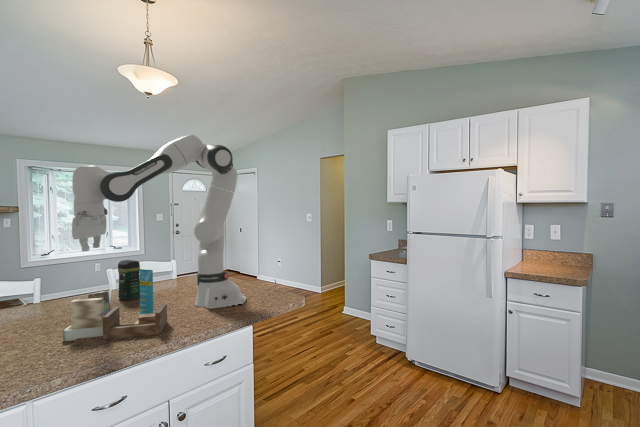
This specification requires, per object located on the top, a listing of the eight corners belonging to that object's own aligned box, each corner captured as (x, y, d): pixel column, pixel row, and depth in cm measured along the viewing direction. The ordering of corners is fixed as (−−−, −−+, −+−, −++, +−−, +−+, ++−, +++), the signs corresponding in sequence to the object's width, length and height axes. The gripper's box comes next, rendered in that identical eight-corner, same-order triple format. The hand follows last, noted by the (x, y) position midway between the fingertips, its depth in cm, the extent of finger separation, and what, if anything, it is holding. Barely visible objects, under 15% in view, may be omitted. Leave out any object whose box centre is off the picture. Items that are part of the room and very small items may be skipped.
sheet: (104, 331, 116) (103, 297, 116) (101, 334, 114) (100, 299, 113) (75, 334, 114) (74, 299, 114) (71, 336, 111) (70, 301, 111)
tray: (111, 330, 118) (111, 321, 118) (105, 337, 112) (104, 327, 112) (71, 334, 115) (71, 324, 115) (63, 341, 109) (62, 330, 109)
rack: (167, 324, 124) (166, 303, 124) (160, 335, 113) (160, 312, 113) (115, 328, 120) (114, 307, 120) (103, 341, 109) (102, 317, 109)
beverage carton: (86, 320, 130) (86, 303, 130) (88, 308, 146) (87, 293, 146) (110, 316, 134) (110, 300, 134) (109, 304, 150) (108, 290, 150)
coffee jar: (143, 297, 161) (142, 259, 160) (127, 301, 154) (126, 262, 153) (132, 295, 165) (131, 258, 165) (115, 299, 158) (114, 260, 158)
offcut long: (158, 324, 122) (158, 318, 122) (156, 328, 119) (155, 322, 119) (137, 326, 121) (137, 320, 121) (134, 330, 117) (134, 324, 117)
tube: (135, 317, 132) (133, 269, 132) (144, 313, 137) (143, 267, 136) (149, 319, 130) (148, 270, 129) (159, 315, 135) (158, 268, 134)
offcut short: (157, 318, 122) (157, 312, 122) (155, 322, 119) (155, 315, 119) (140, 320, 121) (140, 314, 121) (138, 323, 117) (138, 317, 117)
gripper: (87, 211, 109) (89, 252, 110) (109, 210, 129) (111, 245, 129) (64, 212, 107) (67, 254, 108) (90, 210, 127) (92, 246, 128)
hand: (91, 249), depth 119 cm, fingers open, 8 cm apart
